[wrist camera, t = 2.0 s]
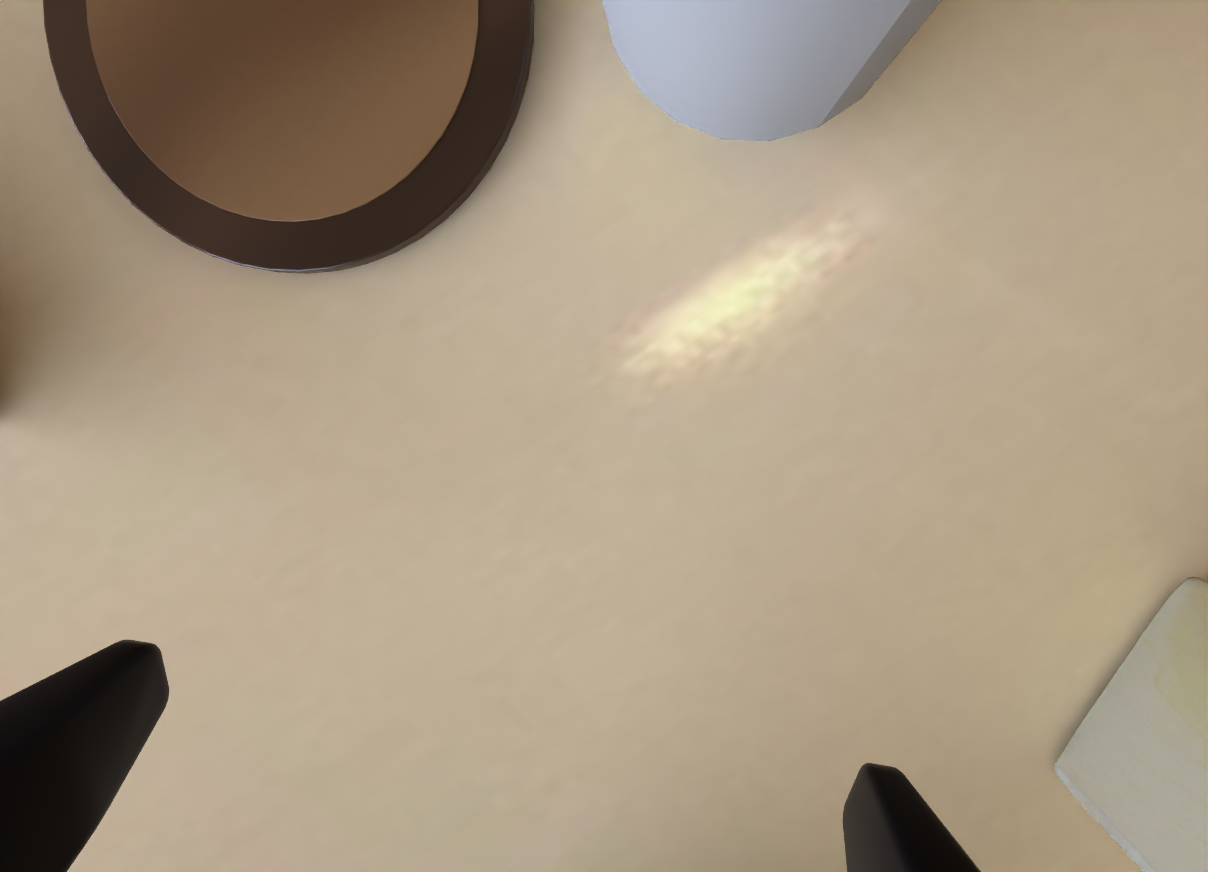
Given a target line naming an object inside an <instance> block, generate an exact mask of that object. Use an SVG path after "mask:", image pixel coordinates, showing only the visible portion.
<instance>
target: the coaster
mask: <svg viewBox="0 0 1208 872" xmlns="http://www.w3.org/2000/svg"><path fill="white" fill-rule="evenodd" d="M43 8H44V24H45V31H46V37H47V42H48V48H49V54H50V59H51V63H52V66H53V70H54V73H55V76H56V80H57V83H58V87H59V90H60V93H61V96H62V98H63V100H64V103H65V105H66V107H67V110H68V112H69V114H70V117H71V119H72V122H73V124H74V126H75V128H76V129H77V131H78V133H79V135H80V136H81V138H82V140H83V142H84V143H85V145H86V147H87V149H88V151H89V152H90V154H91V155H92V157H93V158H94V159H95V161H96V162H97V164H98V165H99V166H100V168H101V169H102V170H103V172H104V173H105V174H106V176H107V177H108V179H109V180H110V181H111V182H112V183H113V184H114V185H115V186H116V187H117V189H118V190H119V191H120V192H121V193H122V194H123V195H124V196H125V197H126V198H127V199H128V200H129V201H130V203H131V204H132V205H134V206H135V207H136V208H137V209H138V210H139V211H141V212H142V213H143V214H144V215H145V216H147V217H148V218H149V219H150V220H151V221H152V222H154V223H155V224H156V225H157V226H159V227H160V228H162V229H163V230H165V231H167V232H168V233H170V234H171V235H173V236H174V237H176V238H177V239H179V240H180V241H182V242H184V243H186V244H188V245H190V246H192V247H194V248H196V249H198V250H200V251H202V252H204V253H206V254H209V255H211V256H213V257H217V258H220V259H223V260H226V261H229V262H232V263H235V264H238V265H242V266H247V267H252V268H258V269H263V270H269V271H275V272H286V273H319V272H329V271H339V270H343V269H347V268H351V267H355V266H360V265H364V264H368V263H370V262H373V261H375V260H378V259H380V258H383V257H385V256H388V255H390V254H393V253H395V252H397V251H399V250H401V249H403V248H404V247H406V246H408V245H410V244H411V243H413V242H415V241H417V240H418V239H420V238H422V237H423V236H425V235H426V234H427V233H429V232H430V231H431V230H432V229H434V228H435V227H436V226H438V225H439V224H440V223H442V222H443V221H444V220H445V219H447V218H448V217H449V216H450V215H451V214H452V213H453V212H454V211H455V210H456V209H457V208H458V207H459V206H460V205H461V204H462V203H463V202H464V201H465V200H466V199H467V198H468V197H469V196H470V194H471V193H472V192H473V190H474V189H475V188H476V187H477V185H478V184H479V183H480V181H481V180H482V179H483V177H484V176H485V175H486V173H487V172H488V171H489V169H490V168H491V166H492V164H493V162H494V161H495V159H496V157H497V155H498V154H499V152H500V150H501V148H502V147H503V145H504V143H505V142H506V139H507V137H508V135H509V132H510V130H511V127H512V125H513V123H514V120H515V118H516V115H517V113H518V111H519V108H520V104H521V100H522V97H523V93H524V90H525V86H526V83H527V79H528V75H529V68H530V62H531V55H532V48H533V42H534V11H535V4H534V0H43Z"/></svg>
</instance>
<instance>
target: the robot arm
mask: <svg viewBox="0 0 1208 872" xmlns="http://www.w3.org/2000/svg"><path fill="white" fill-rule="evenodd" d="M168 697H169V685H168V681H167V676H166V672H165V668H164V663H163V659H162V654H161V651H160V649H159V648H158V647H157V646H156V645H155V644H152V643H147V642H141V641H135V640H122V641H119V642H117V643H114V644H112V645H110V646H108V647H106V648H104V649H102V650H100V651H98V652H97V653H95V654H93V655H91V656H89V657H87V658H85V659H83V660H81V661H79V662H77V663H75V664H73V665H71V666H69V667H67V668H65V669H63V670H61V671H59V672H57V673H55V674H53V675H51V676H49V677H47V678H45V679H43V680H41V681H39V682H37V683H35V684H33V685H31V686H29V687H27V688H25V689H23V690H21V691H19V692H17V693H15V694H13V695H11V696H9V697H7V698H5V699H3V700H1V701H0V872H67V871H68V869H69V868H70V866H71V865H72V863H73V862H74V860H75V859H76V857H77V856H78V855H79V853H80V852H81V850H82V849H83V847H84V846H85V844H86V843H87V841H88V840H89V838H90V837H91V835H92V834H93V832H94V831H95V829H96V828H97V826H98V825H99V823H100V821H101V820H102V818H103V816H104V815H105V813H106V811H107V810H108V808H109V806H110V805H111V803H112V801H113V799H114V798H115V796H116V794H117V792H118V790H119V789H120V787H121V785H122V783H123V782H124V780H125V778H126V776H127V775H128V773H129V771H130V769H131V767H132V766H133V764H134V762H135V760H136V759H137V757H138V755H139V753H140V752H141V750H142V748H143V746H144V744H145V743H146V741H147V739H148V737H149V736H150V734H151V732H152V730H153V728H154V727H155V725H156V723H157V721H158V720H159V718H160V716H161V714H162V713H163V711H164V709H165V707H166V704H167V701H168ZM843 829H844V840H845V852H846V863H847V872H981V871H980V870H979V869H978V867H977V866H976V865H975V864H974V862H973V861H972V860H971V859H970V857H969V856H968V855H967V854H966V852H965V851H964V850H963V849H962V847H961V846H960V845H959V843H958V842H957V841H956V840H955V838H954V837H953V836H952V835H951V833H950V832H949V831H948V830H947V828H946V827H945V826H944V825H943V823H942V822H941V821H940V819H939V818H938V817H937V816H936V814H935V813H934V812H933V811H932V809H931V808H930V807H929V806H928V804H927V803H926V802H925V801H924V799H923V798H922V797H921V795H920V794H919V793H918V792H917V790H916V789H915V788H914V787H913V785H912V784H911V783H910V782H909V780H908V779H907V778H906V777H905V775H904V774H903V773H902V772H901V771H899V770H898V769H897V768H894V767H890V766H884V765H878V764H872V763H866V764H864V765H863V766H862V767H861V769H860V770H859V772H858V775H857V777H856V779H855V782H854V784H853V786H852V789H851V791H850V793H849V796H848V798H847V800H846V803H845V806H844V812H843Z"/></svg>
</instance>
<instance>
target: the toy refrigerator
mask: <svg viewBox="0 0 1208 872" xmlns="http://www.w3.org/2000/svg"><path fill="white" fill-rule="evenodd" d="M1054 772H1055V774H1056V775H1057V777H1058V778H1059V779H1060V781H1061V782H1062V783H1063V785H1064V786H1065V787H1066V788H1067V789H1068V790H1069V791H1070V792H1071V793H1072V795H1073V796H1074V797H1075V798H1076V799H1077V800H1078V801H1079V802H1080V803H1081V804H1082V806H1083V807H1084V808H1085V809H1086V810H1087V811H1088V812H1089V813H1090V814H1091V815H1092V816H1093V818H1094V819H1095V820H1096V821H1097V822H1098V823H1099V824H1100V825H1101V826H1102V827H1103V828H1104V830H1105V831H1106V832H1107V833H1108V834H1109V835H1110V836H1111V837H1112V838H1113V839H1114V841H1115V842H1116V843H1117V844H1118V845H1119V846H1120V847H1121V848H1122V849H1123V850H1124V851H1125V853H1126V854H1127V855H1128V856H1129V857H1130V858H1131V859H1132V860H1133V861H1134V862H1135V864H1136V865H1137V866H1138V867H1139V868H1140V869H1141V870H1142V871H1143V872H1208V582H1207V581H1204V580H1202V579H1200V578H1196V577H1191V578H1187V579H1186V580H1185V581H1184V582H1183V583H1182V584H1181V585H1180V586H1179V587H1178V588H1177V589H1176V590H1175V591H1174V592H1173V593H1172V594H1171V596H1170V597H1169V598H1168V599H1167V601H1166V602H1165V603H1164V605H1163V606H1162V607H1161V609H1160V610H1159V612H1158V613H1157V614H1156V616H1155V617H1154V618H1153V620H1152V621H1151V623H1150V624H1149V625H1148V627H1147V628H1146V630H1145V631H1144V632H1143V634H1142V635H1141V637H1140V638H1139V640H1138V641H1137V643H1136V644H1135V646H1134V647H1133V649H1132V650H1131V652H1130V653H1129V654H1128V656H1127V657H1126V659H1125V660H1124V662H1123V663H1122V665H1121V666H1120V667H1119V669H1118V670H1117V672H1116V673H1115V675H1114V676H1113V678H1112V679H1111V681H1110V682H1109V683H1108V685H1107V686H1106V688H1105V689H1104V691H1103V692H1102V694H1101V695H1100V697H1099V698H1098V699H1097V701H1096V702H1095V704H1094V705H1093V707H1092V708H1091V710H1090V711H1089V713H1088V714H1087V716H1086V717H1085V718H1084V720H1083V721H1082V723H1081V724H1080V726H1079V728H1078V729H1077V731H1076V732H1075V734H1074V735H1073V737H1072V738H1071V740H1070V742H1069V743H1068V745H1067V746H1066V748H1065V749H1064V751H1063V752H1062V754H1061V756H1060V757H1059V759H1058V760H1057V762H1056V764H1055V765H1054Z"/></svg>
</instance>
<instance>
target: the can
mask: <svg viewBox="0 0 1208 872" xmlns="http://www.w3.org/2000/svg"><path fill="white" fill-rule="evenodd" d="M941 1H942V0H602V2H603V6H604V10H605V14H606V18H607V22H608V26H609V30H610V34H611V38H612V42H613V46H614V50H615V51H616V53H617V55H618V56H619V58H620V60H621V61H622V63H623V64H624V66H625V68H626V69H627V71H628V73H629V74H630V76H631V77H632V79H633V81H634V82H635V84H636V86H637V87H638V89H639V91H640V92H641V93H643V94H644V95H645V96H646V97H647V98H649V99H650V100H651V101H652V102H653V103H655V104H656V105H657V106H658V107H659V108H660V109H662V110H663V111H664V112H665V113H666V114H668V115H669V116H670V117H671V118H672V119H674V120H675V121H676V122H677V123H680V124H683V125H685V126H688V127H690V128H693V129H696V130H698V131H701V132H704V133H706V134H709V135H711V136H714V137H717V138H719V139H724V140H753V141H772V140H776V139H779V138H783V137H786V136H789V135H793V134H796V133H800V132H803V131H806V130H810V129H813V128H817V127H819V126H821V125H822V124H824V123H825V122H827V121H828V120H830V119H831V118H833V117H834V116H836V115H837V114H839V113H840V112H842V111H843V110H845V109H846V108H848V107H849V106H851V105H852V104H853V103H855V102H856V101H858V100H859V99H861V98H862V97H863V96H864V95H865V93H866V92H867V91H868V90H869V89H870V87H871V86H872V85H873V84H874V83H875V81H876V80H877V79H878V78H879V76H880V75H881V74H882V73H883V72H884V70H885V69H886V68H887V67H888V66H889V64H890V63H891V62H892V61H893V59H894V58H895V57H896V56H897V55H898V53H899V52H900V51H901V50H902V49H903V47H904V46H905V45H906V44H907V42H908V41H909V40H910V39H911V38H912V36H913V35H914V34H915V33H916V32H917V30H918V29H919V28H920V27H921V25H922V24H923V23H924V22H925V21H926V19H927V18H928V17H929V16H930V15H931V13H932V12H933V11H934V10H935V9H936V7H937V6H938V5H939V4H940V2H941Z"/></svg>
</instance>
